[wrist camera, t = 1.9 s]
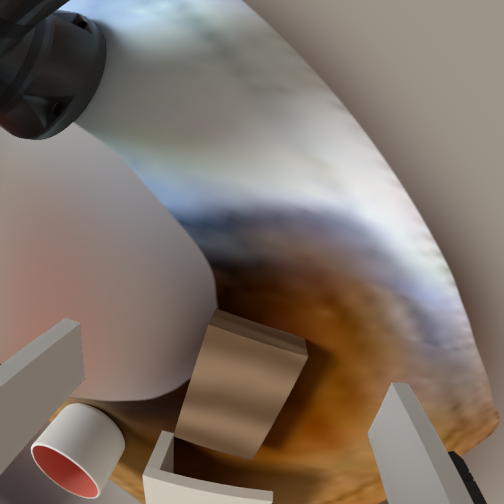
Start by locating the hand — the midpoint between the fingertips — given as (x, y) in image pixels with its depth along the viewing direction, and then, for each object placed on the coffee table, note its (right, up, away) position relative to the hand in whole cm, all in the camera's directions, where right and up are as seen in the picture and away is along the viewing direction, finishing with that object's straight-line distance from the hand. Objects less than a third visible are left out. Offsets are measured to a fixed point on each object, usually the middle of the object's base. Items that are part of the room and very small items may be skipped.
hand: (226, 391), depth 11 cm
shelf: (-4, -25, +24) cm, 35 cm away
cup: (-21, -19, +24) cm, 37 cm away
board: (-1, -9, +21) cm, 23 cm away
